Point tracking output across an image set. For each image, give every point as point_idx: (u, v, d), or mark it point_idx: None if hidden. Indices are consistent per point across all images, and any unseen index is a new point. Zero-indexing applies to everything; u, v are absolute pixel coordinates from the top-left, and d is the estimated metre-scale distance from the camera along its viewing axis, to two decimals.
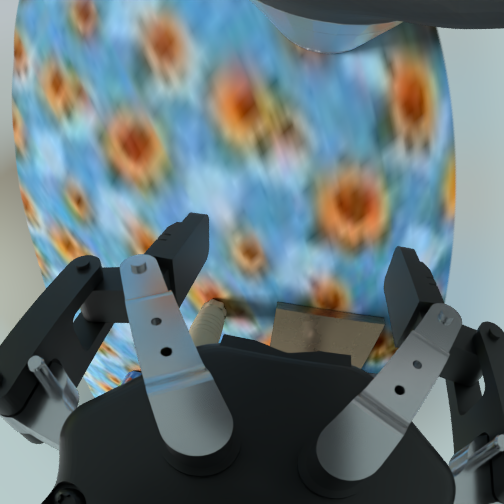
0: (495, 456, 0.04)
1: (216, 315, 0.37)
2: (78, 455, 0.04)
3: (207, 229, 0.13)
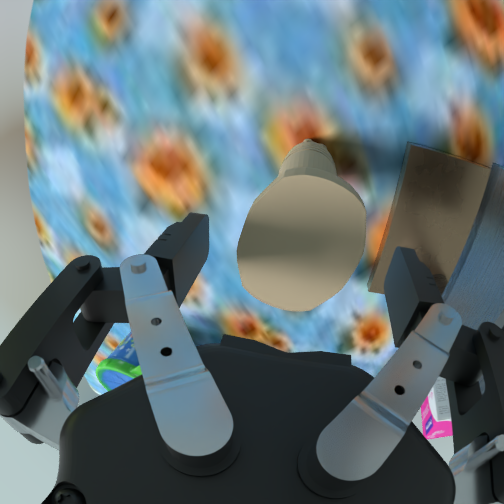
0: (495, 456, 0.04)
1: (324, 148, 0.21)
2: (78, 455, 0.04)
3: (207, 229, 0.13)
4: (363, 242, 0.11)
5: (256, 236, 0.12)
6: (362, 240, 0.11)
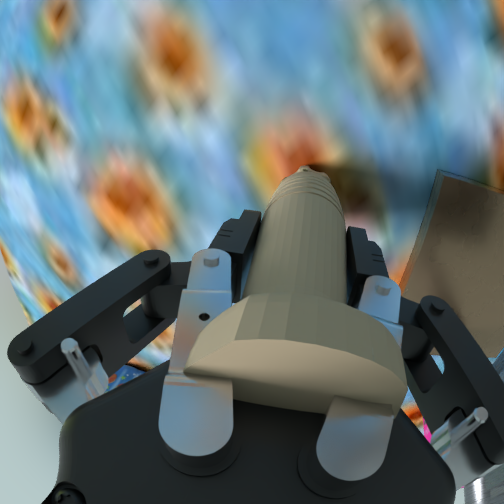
0: (478, 428, 0.05)
1: (328, 183, 0.15)
2: (72, 445, 0.04)
3: (259, 226, 0.13)
4: None
5: None
6: None
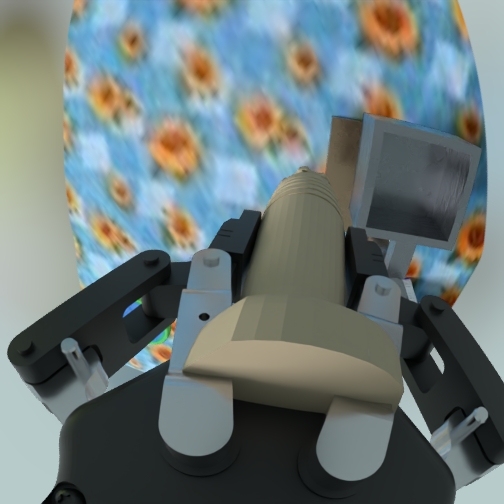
0: (478, 428, 0.05)
1: (327, 184, 0.15)
2: (73, 445, 0.04)
3: None
4: None
5: None
6: None
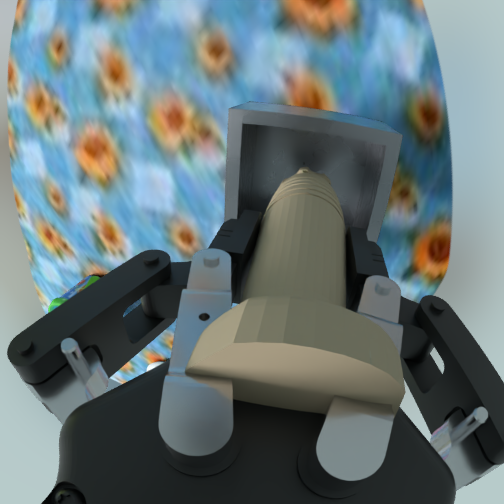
0: (478, 428, 0.05)
1: (327, 184, 0.15)
2: (73, 445, 0.04)
3: (259, 226, 0.13)
4: None
5: None
6: None
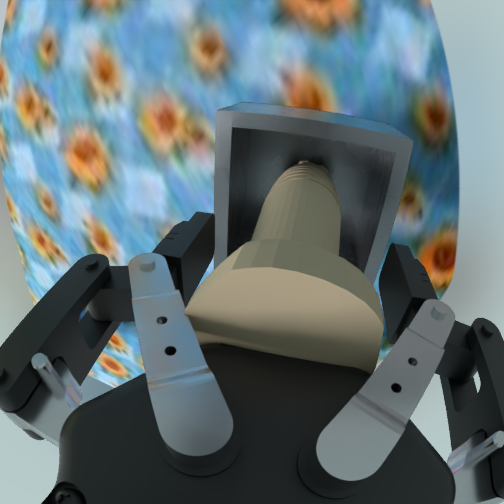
0: (494, 452, 0.04)
1: (325, 173, 0.16)
2: (77, 454, 0.04)
3: (213, 228, 0.13)
4: (373, 366, 0.06)
5: None
6: (371, 364, 0.06)
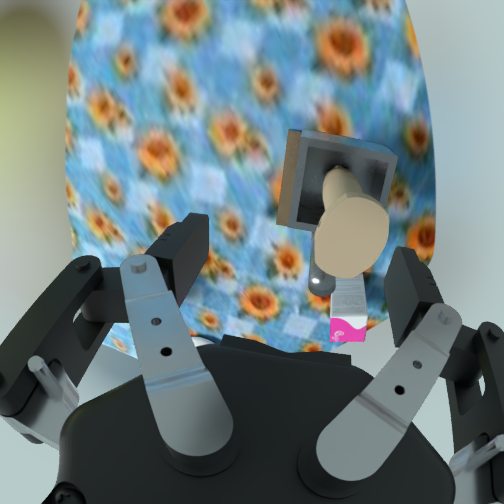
0: (495, 456, 0.04)
1: (352, 173, 0.30)
2: (78, 455, 0.04)
3: (207, 229, 0.13)
4: (387, 235, 0.20)
5: (328, 231, 0.20)
6: (386, 234, 0.20)
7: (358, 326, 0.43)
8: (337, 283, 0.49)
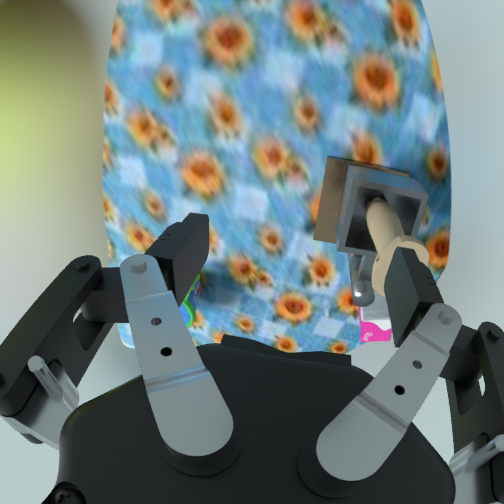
0: (495, 456, 0.04)
1: None
2: (78, 455, 0.04)
3: (207, 229, 0.13)
4: None
5: (385, 265, 0.26)
6: None
7: (385, 328, 0.48)
8: None
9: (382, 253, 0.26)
